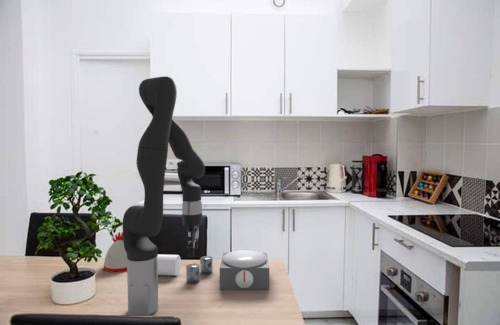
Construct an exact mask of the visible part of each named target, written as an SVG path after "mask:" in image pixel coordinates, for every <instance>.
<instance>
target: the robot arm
mask: <svg viewBox="0 0 500 325" xmlns="http://www.w3.org/2000/svg"><path fill="white" fill-rule="evenodd" d="M177 92H178V91H177V85H176V83H175V80H174V79H173V78H171V77H170V76H164V75H163V76H157V77H156V76H155V77H151V78H146V79H143V80H142V81H141V82H140V84H139V87H138V94H139V97H140V99H141V101H142V103H143V105H144V106H145V108H146V109H147V110H148V112H149V114H150V115H151V116H152V119H151V120H150V122H149V124H148V126H147V127H146V129H145V131H144V132H143V134H142V136H141V137H140V140H139V142H138V146H137V147H138V148H137V154H136V167H137V168H136V169H137V172H138V175H139V177H140V179H141V182H142V184H143V190H144V191H143V192H144V200H143V201H144V202H143V205H132V206H129V207H128V208H127V209H126V210H125V212H124V214H123V217H122V232H123V241H124V249H125V251H126V253H127V271H126V273H127V274H126V279H127V283H126V284H127V312H128V317H129V316H149V317H150V316H151V315H152V314H154V313H156V312H157V311H158V310H159V275H158V247H157V245H156V244H154V243H153V242H152V241H151V240H150V239H149V238H154V237H156V236H157V235H158V234H159V232H160V231H161V229H162V225H163V220H164V189H165V188H164V187H165V177H166V176H165V175H166V167H167V163H168V162H167V161H168V153H169V147H170V149H171V151H172V152H173V155H174V157H175V158H176V159H178V160H181V161H179V164H178V166H177V170H176V172H177V177H178V180H179V184H180V186H181V190H182V196H181V197H182V203H181V213H182V214H181V215H182V221H181V223H182V226H186V227H187V229H186V231H185V247H186V248H187V258H194V257H195V251H198V249H199V245H198V244H199V242H198V240H199V238H200V234H199V233H200V229H199V226H200V225H202V224H203V203H202V188H201V186H200V185H199V184H197V183H195V182H194V179H196V180H197V179H201V178H203V177H204V175H205V172H206V167H205V163H204V161H203V159H202V158H201V157H200V155H199V154H198V153H197V151H195V149H194V148H193V146H192V144H191V141H190V139H189V137H188V134H187V133H186V131H185V130H184V129H183V128H182V126H181V125H180V124H179V123H178V122H177V121H176V120H174V118H173V117H174V116H173V115H174V111H175V107H176V101H177V97H178V96H177V95H178V94H177Z"/></svg>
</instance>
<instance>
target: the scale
mask: <svg viewBox="0 0 500 325" xmlns="http://www.w3.org/2000/svg"><path fill="white" fill-rule="evenodd" d="M219 290H222V291H223V290H227V291H229V290H230V291H231V290H233V291H234V290H235V291H236V290H239V291H240V290H242V291H243V290H247V291H248V290H250V291H251V290H257V291H258V290H260V291H261V290H262V291H263V290H264V291H265V290H268V291H269V290H270V264H269V258H268V253H267V252H260V251H256V250H249V249H248V250H247V249H246V250H245V249H244V250H243V249H242V250H235V251H234V250H233V251H229V252H223V253H222V258H221V261H220V263H219Z"/></svg>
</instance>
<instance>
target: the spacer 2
mask: <svg viewBox="0 0 500 325" xmlns="http://www.w3.org/2000/svg"><path fill="white" fill-rule="evenodd" d="M199 260H200V261H199V262H200V264H199V267H200V275H205V276H206V275H207V276H208V275H210V274H213V272H214V271H213V268H214V266H213V257H212V256H209V255H204V256H201V257H200V258H199Z"/></svg>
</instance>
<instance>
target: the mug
mask: <svg viewBox="0 0 500 325" xmlns="http://www.w3.org/2000/svg"><path fill="white" fill-rule="evenodd" d="M181 264H182V260H181V256H180V255H179V254H158V276H176V277H177V276H179V274H180V271H181V267H182V266H181Z"/></svg>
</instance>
